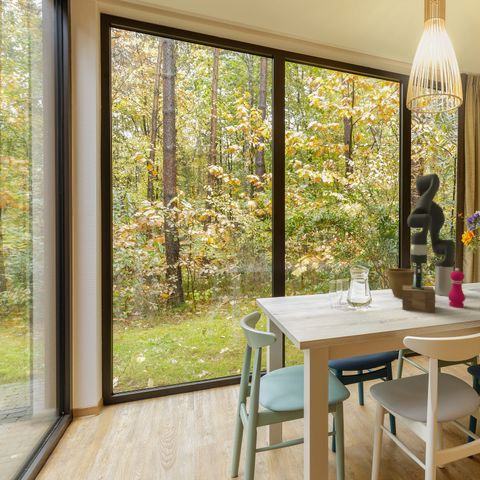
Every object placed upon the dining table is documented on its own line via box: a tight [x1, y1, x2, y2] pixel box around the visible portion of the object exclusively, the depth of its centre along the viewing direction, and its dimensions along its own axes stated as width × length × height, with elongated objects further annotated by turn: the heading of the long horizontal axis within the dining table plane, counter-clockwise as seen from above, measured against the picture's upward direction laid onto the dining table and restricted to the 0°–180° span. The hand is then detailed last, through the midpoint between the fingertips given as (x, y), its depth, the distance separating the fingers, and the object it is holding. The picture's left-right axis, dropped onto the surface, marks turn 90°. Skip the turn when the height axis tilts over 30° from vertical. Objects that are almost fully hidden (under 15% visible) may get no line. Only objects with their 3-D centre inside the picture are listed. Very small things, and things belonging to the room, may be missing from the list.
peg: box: [413, 274, 424, 290], centre depth 160 cm, size 4×4×9 cm
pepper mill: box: [447, 267, 466, 309], centre depth 162 cm, size 7×7×20 cm
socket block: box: [401, 285, 436, 314], centre depth 160 cm, size 14×14×10 cm
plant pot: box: [386, 268, 414, 299], centre depth 184 cm, size 15×15×16 cm
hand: (418, 286), depth 160 cm, fingers closed on peg, 3 cm apart
